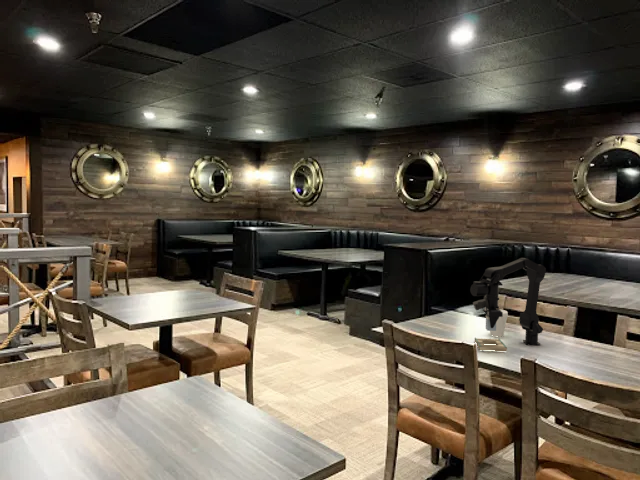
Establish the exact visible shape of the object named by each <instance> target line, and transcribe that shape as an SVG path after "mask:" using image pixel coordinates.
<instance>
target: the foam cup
mask: <svg viewBox="0 0 640 480" xmlns="http://www.w3.org/2000/svg"><path fill="white" fill-rule="evenodd" d="M500 310H501V311H502V312H503V317H499V319H498V320H497V322H496V331H489V333H490V336H491V335H493V336H498V337H497V338H502V337H501V336H503V337H504V335H505V330H506V326H507V325H506V323H507V319H508V315H509V314H508V313H509V312H508V311H507V310H504V309H500ZM493 336H492V337H493Z"/></svg>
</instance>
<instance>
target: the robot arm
mask: <svg viewBox="0 0 640 480" xmlns="http://www.w3.org/2000/svg"><path fill="white" fill-rule="evenodd" d="M521 269H523V270H525V271H526V276H527V279H528V287H527V288H528V289H527V295H526V301H525V302H526V303H525V309H524V311H523V312H519V318H518V321H519V324H520V326H521V330H524V331H525V338H524V339H522V342H523V343H524V344H526V345H528V344H529V346H531V345H533V346H534V345H535V346H540V345H541V343H540V341H539V334H542V333H543V330H544V328H543V327H542V325H540V323H539V316H538V313H537V307H538V300H539V299H538V298H539V293H540V285H541V282H543V280H544V279H545V276H546V272H547V268H546V267H545V266H544V265H543V264H538V263H536V262H534V261H532V260H530V259H529V258H525V257H520V258H518V259H516V260H513V261H511V262H508V263H506V264H504V265H501V266H494V267H493V266H492V267H487V268H486V269H485V270H484V273H483V275H482V276H481V278H480V279H479V281H472V283H473V284H471V286H470V287H469V288H470V289H469V291H470V294H471V295H472V296H473V297H481V296H483V299H478V300H476V301H473V302H472V304H473V308H474V310H475V311H479V310H481V309H483V310H482V311H483V312H484V313H485V314H486V315H485V316H488V317H489V320H490V326H491V328H494V326H495V324H496V322H497V320H498V319H499V317H503V312H502V311H501V310H502V309H500V306H499V301H500V297H499V289H500V287H499V286H501V287H502V286H503V285H504V284H503V283H502V282H501V280H502V279H504V278H505V276H507V275H509V274H512V273H514V272H516V271H520V270H521Z"/></svg>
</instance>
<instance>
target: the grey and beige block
mask: <svg viewBox="0 0 640 480" xmlns="http://www.w3.org/2000/svg"><path fill="white" fill-rule="evenodd" d="M485 329H486V331H489V332H490V331H496V324H495V326H494V328H491V326H490V320H489V317H488V316H487V315H485Z"/></svg>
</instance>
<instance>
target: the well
mask: <svg viewBox="0 0 640 480" xmlns="http://www.w3.org/2000/svg"><path fill="white" fill-rule="evenodd" d="M475 342H476V343H477V346H478V347H477V346H476V347H477V349H478V348H479V349H480V350H495V351H508V347H507V346H506V344H505V343H504V342H503V341H502V340H501V338H478V337H474V343H475ZM484 344H496V345H484ZM479 349H478V350H479Z"/></svg>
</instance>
